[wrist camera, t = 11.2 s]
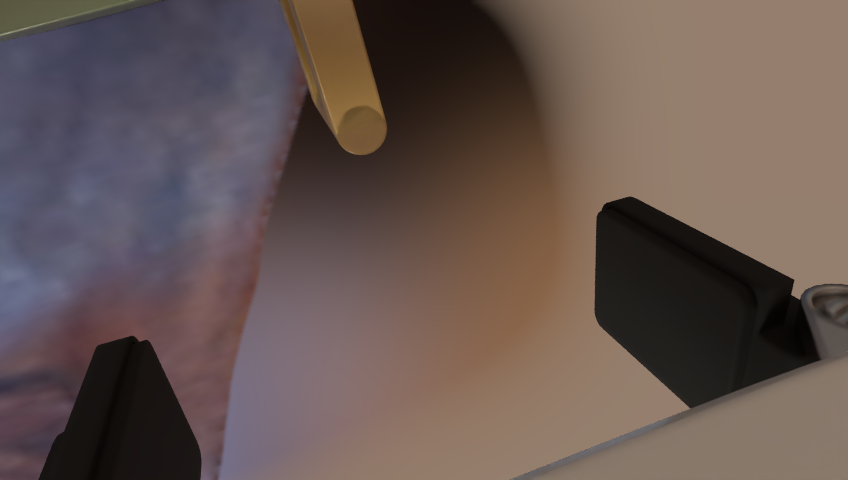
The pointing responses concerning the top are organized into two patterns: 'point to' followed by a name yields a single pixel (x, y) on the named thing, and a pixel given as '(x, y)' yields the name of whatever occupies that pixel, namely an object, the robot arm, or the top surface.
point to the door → (312, 37)
